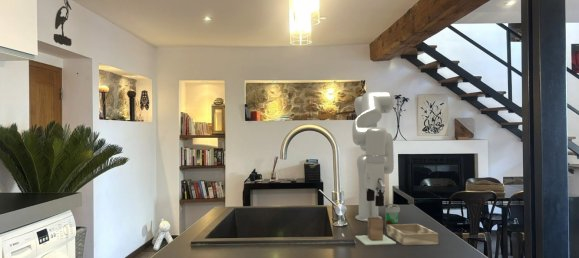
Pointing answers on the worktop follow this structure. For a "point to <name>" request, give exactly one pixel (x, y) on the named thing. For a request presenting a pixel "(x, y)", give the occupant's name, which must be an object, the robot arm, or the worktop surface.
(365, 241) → the mat
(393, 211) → the food container
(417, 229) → the access box
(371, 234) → the walnut block
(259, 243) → the worktop surface
